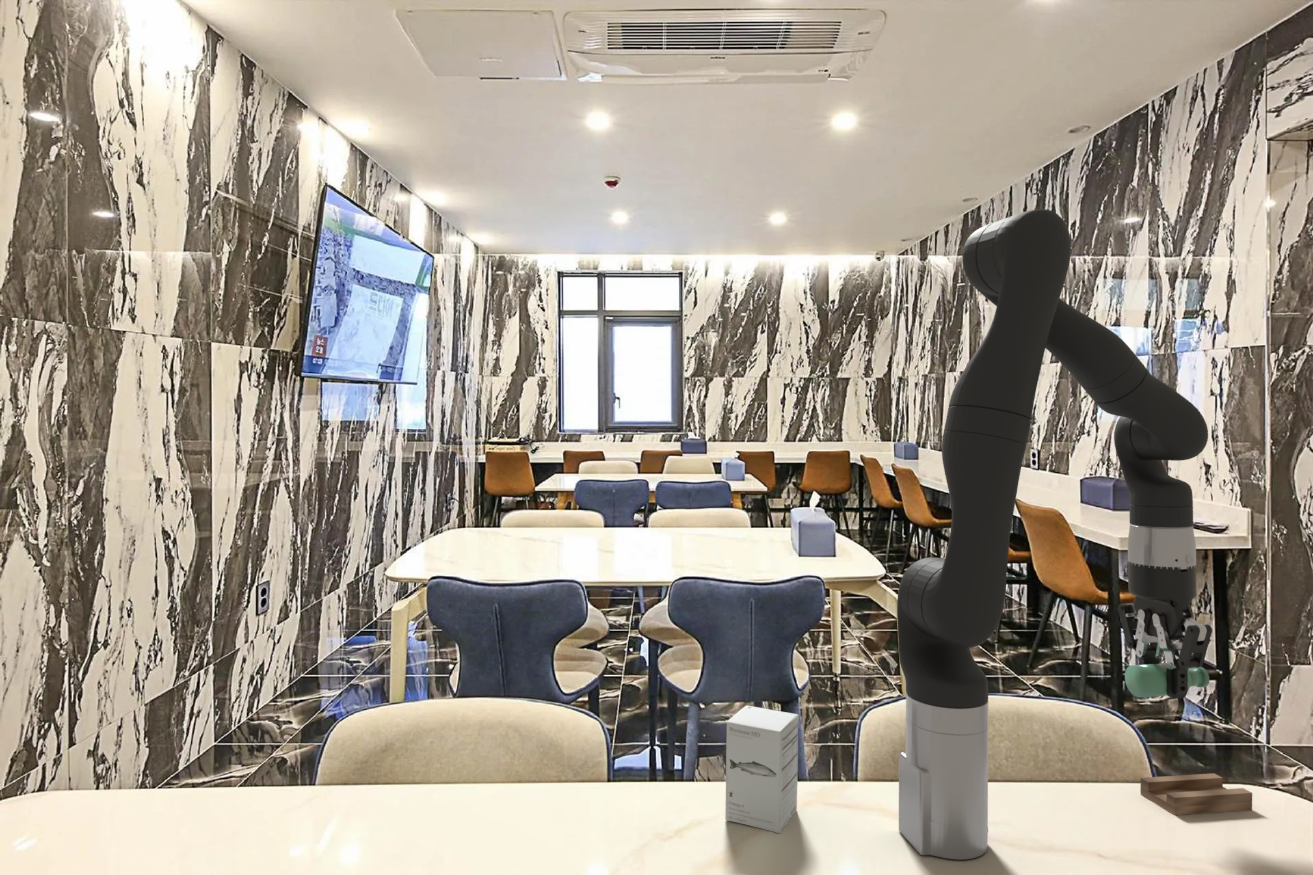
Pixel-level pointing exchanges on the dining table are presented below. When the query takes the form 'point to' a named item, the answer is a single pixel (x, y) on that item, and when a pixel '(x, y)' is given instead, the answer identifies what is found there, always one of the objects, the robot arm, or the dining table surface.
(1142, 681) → the bottle
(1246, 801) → the bottle rest
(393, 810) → the dining table surface
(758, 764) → the supplement box
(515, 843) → the dining table surface
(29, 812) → the dining table surface
